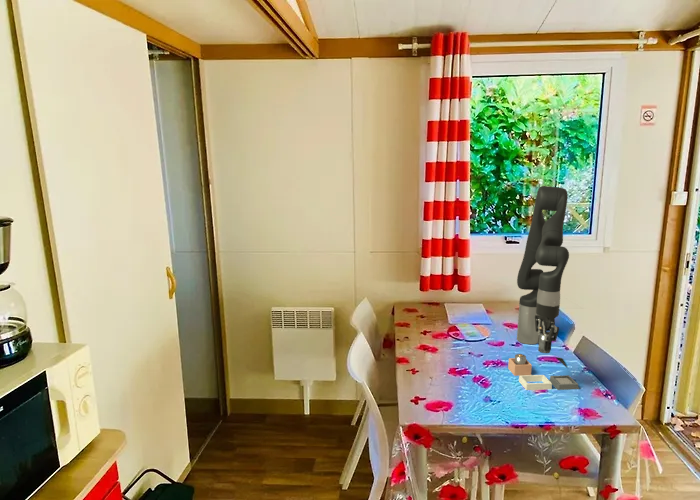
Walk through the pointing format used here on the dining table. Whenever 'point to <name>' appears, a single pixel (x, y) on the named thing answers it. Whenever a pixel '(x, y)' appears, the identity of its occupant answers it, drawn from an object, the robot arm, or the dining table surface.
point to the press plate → (563, 380)
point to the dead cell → (520, 359)
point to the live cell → (542, 343)
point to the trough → (535, 386)
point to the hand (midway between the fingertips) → (544, 347)
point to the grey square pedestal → (563, 386)
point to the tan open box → (519, 368)
